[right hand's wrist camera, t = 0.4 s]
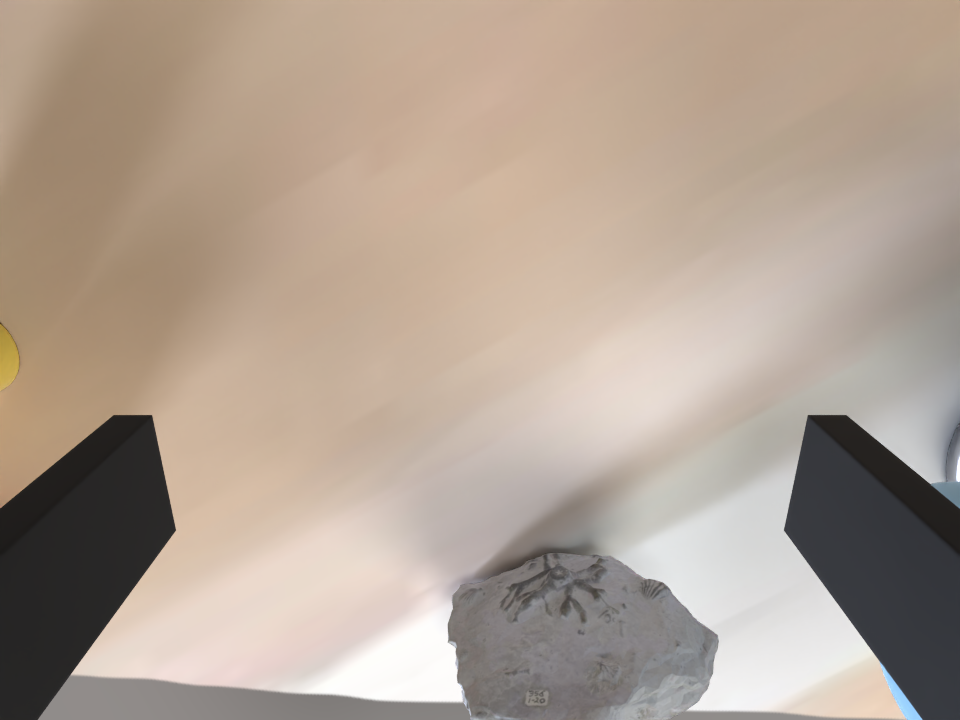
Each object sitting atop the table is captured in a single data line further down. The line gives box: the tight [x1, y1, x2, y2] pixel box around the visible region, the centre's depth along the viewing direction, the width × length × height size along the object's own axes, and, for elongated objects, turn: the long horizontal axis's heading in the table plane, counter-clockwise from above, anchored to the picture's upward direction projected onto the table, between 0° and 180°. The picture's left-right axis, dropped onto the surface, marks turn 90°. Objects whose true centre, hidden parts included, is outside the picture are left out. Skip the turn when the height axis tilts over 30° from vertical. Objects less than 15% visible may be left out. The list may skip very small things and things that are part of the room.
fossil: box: [448, 553, 719, 720], centre depth 41 cm, size 17×7×15 cm, turn 102°
